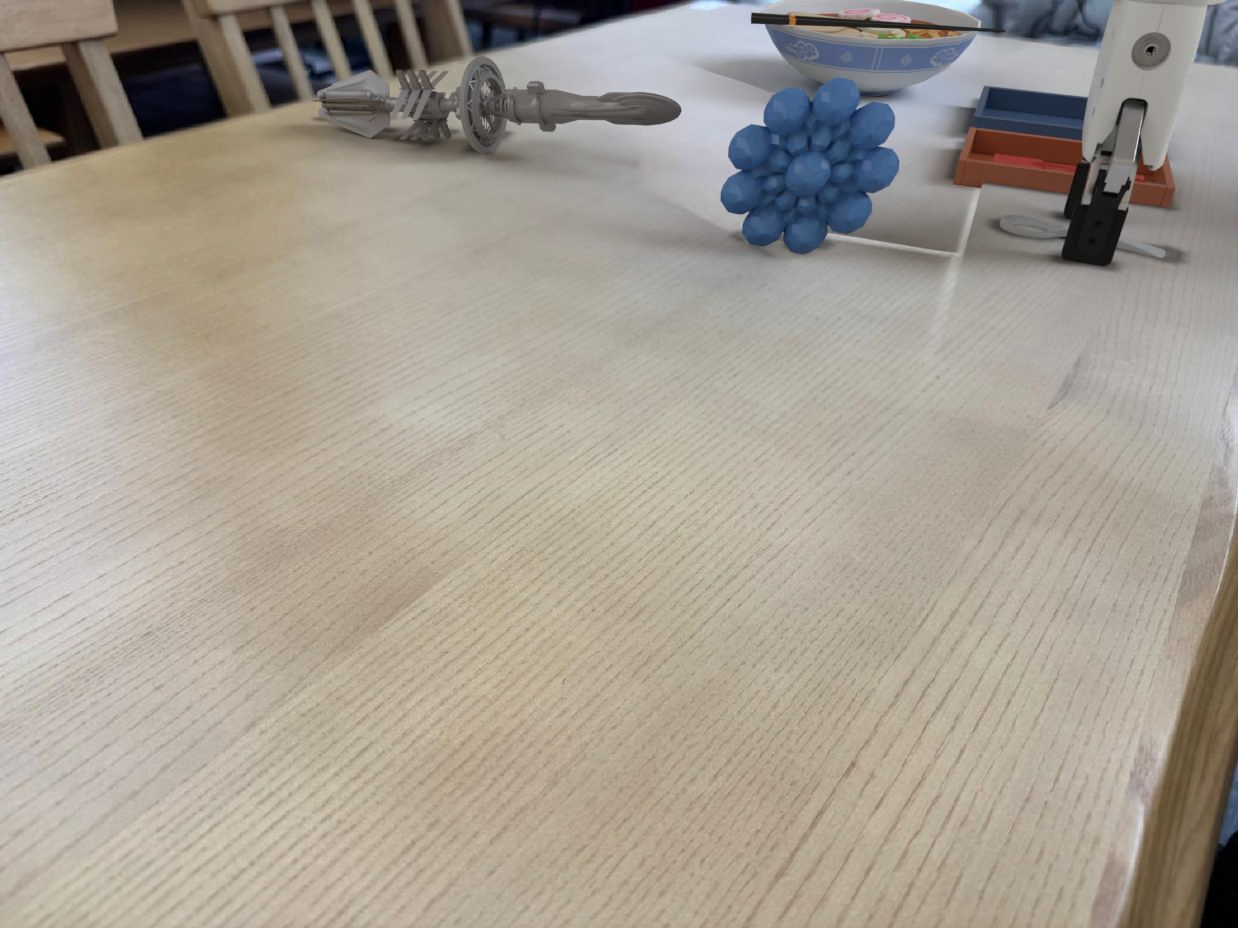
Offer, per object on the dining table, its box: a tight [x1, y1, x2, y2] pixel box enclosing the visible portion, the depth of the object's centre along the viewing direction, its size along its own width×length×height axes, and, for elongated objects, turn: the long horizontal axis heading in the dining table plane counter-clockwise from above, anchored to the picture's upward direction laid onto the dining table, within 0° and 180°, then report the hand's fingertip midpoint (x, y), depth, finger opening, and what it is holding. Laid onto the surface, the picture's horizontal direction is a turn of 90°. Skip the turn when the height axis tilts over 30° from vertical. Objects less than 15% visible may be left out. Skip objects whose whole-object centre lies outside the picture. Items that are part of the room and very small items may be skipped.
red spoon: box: [992, 154, 1147, 183], centre depth 83 cm, size 12×3×1 cm, turn 69°
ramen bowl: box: [750, 0, 1006, 97], centre depth 106 cm, size 25×23×8 cm
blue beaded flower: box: [720, 78, 900, 255], centre depth 68 cm, size 12×7×12 cm, turn 80°
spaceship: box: [311, 55, 682, 155], centre depth 85 cm, size 8×35×8 cm
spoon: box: [999, 213, 1166, 259], centre depth 71 cm, size 3×12×2 cm, turn 64°
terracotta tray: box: [952, 126, 1176, 208], centre depth 83 cm, size 16×10×2 cm, turn 69°
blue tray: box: [970, 85, 1088, 141], centre depth 95 cm, size 16×12×2 cm
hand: (1085, 238), depth 71 cm, fingers open, 7 cm apart
